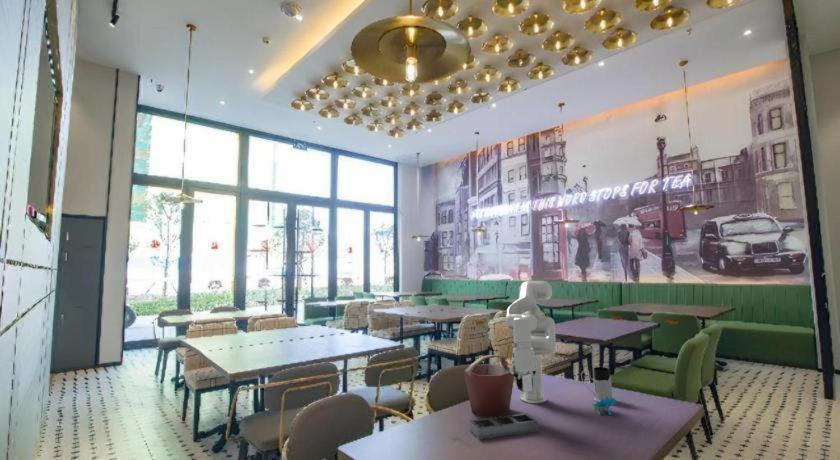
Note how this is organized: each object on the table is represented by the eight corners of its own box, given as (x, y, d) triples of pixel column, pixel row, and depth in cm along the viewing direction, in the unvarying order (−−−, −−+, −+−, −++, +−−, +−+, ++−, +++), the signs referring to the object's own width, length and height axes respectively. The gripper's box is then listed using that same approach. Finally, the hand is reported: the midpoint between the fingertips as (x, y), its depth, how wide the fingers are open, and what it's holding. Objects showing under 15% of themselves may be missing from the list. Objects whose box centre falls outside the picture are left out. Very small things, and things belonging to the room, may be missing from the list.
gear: (612, 405, 183) (616, 394, 176) (618, 417, 178) (623, 407, 172) (589, 409, 182) (593, 398, 176) (595, 421, 178) (599, 411, 171)
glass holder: (615, 403, 189) (612, 371, 191) (583, 401, 193) (581, 370, 195) (611, 397, 198) (609, 367, 199) (581, 395, 202) (579, 365, 203)
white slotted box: (517, 388, 175) (517, 372, 176) (526, 387, 176) (526, 371, 177) (523, 392, 171) (522, 375, 171) (532, 390, 172) (531, 373, 173)
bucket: (502, 400, 197) (500, 349, 199) (527, 415, 176) (524, 358, 178) (457, 406, 189) (456, 353, 192) (477, 423, 168) (475, 363, 171)
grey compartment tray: (478, 439, 152) (478, 428, 152) (469, 430, 161) (469, 420, 161) (538, 431, 159) (537, 421, 159) (526, 423, 167) (526, 413, 168)
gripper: (509, 348, 169) (511, 392, 168) (544, 345, 174) (546, 387, 172) (501, 345, 176) (503, 386, 175) (534, 341, 181) (537, 382, 180)
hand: (524, 386), depth 174 cm, fingers closed on white slotted box, 4 cm apart
